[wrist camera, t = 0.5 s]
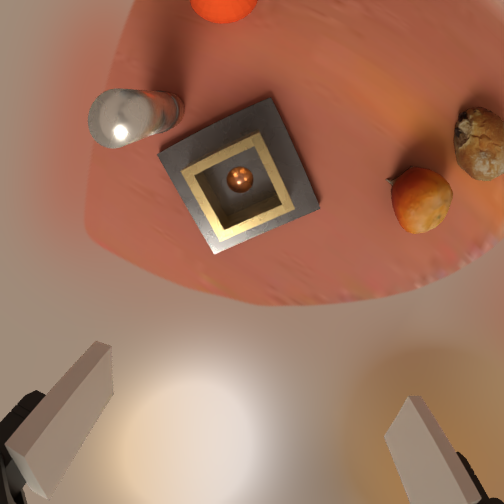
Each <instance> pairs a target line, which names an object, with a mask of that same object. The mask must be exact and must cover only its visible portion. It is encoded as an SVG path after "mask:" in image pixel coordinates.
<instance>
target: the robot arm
mask: <svg viewBox="0 0 504 504" xmlns="http://www.w3.org/2000/svg"><path fill="white" fill-rule="evenodd" d="M113 394H114V392H113V375H112V347H111V346H110V345H107V344H104V343H101V342H98V341H95V342H94V343H93V344H92V345H91V347H90V348H89V349H88V350H87V351H86V352H85V353H84V354H83V355H82V356H81V357H80V358H79V360H77V362H76V363H75V364H74V365H73V366H72V367H71V368H70V369H69V370H68V371H67V372H66V374H65V375H64V376H63V377H62V378H61V379H60V380H59V381H58V382H57V383H56V385H55V386H54V387H53V388H52V389H51V390H50V391H49V392H48V394H47V395H45V394H43V393H41V392H39V391H37V390H36V391H33V392H32V393H29V394H27V395H25V396H24V397H23V398H22V399H21V400H20V402H19V403H18V405H16V406H15V407H14V408H13V409H12V411H11V412H9V413H8V414H7V416H6V417H5V418H4V419H3V420H2V421H1V422H0V504H27V501H26V497H25V494H24V491H23V489H22V488H23V486H24V485H25V483H27V485H28V486H29V488H30V489H31V490H32V491H33V492H35V493H37V494H38V495H40V496H42V497H44V498H46V499H47V500H50V498H51V497H52V495H53V493H54V491H55V490H56V488H57V486H58V484H59V483H60V481H61V479H62V478H63V476H64V474H65V472H66V471H67V469H68V467H69V466H70V464H71V462H72V461H73V459H74V457H75V456H76V454H77V452H78V450H79V449H80V447H81V446H82V444H83V442H84V441H85V439H86V437H87V436H88V434H89V433H90V431H91V429H92V428H93V426H94V424H95V423H96V421H97V419H98V418H99V416H100V415H101V413H102V411H103V410H104V408H105V406H106V405H107V404H108V402H109V400H110V399H111V397H112V396H113ZM384 438H385V441H386V443H387V446H388V448H389V451H390V453H391V456H392V458H393V461H394V463H395V465H396V468H397V471H398V473H399V476H400V478H401V481H402V483H403V486H404V488H405V491H406V494H407V496H408V499H409V502H410V504H504V503H503V502H502V501H501V500H500V499H498V498H490V499H489V497H488V496H487V494H486V492H485V490H484V489H483V487H482V485H481V483H480V481H479V480H478V478H477V476H476V475H474V471H473V469H472V468H471V466H470V464H469V463H468V461H467V459H466V458H465V457H464V456H463V455H461V454H460V453H459V452H455V450H454V448H453V447H452V445H451V444H450V442H449V440H448V438H447V437H446V435H445V434H444V432H443V430H442V429H441V427H440V426H439V424H438V422H437V421H436V419H435V418H434V416H433V414H432V413H431V411H430V410H429V408H428V407H427V405H426V403H425V402H424V400H423V399H422V397H421V396H408V397H407V399H406V401H405V403H404V404H403V406H402V408H401V410H400V411H399V413H398V415H397V416H396V418H395V420H394V421H393V423H392V424H391V426H390V428H389V429H388V431H387V432H386V434H385V436H384Z"/></svg>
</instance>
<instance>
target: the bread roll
mask: <svg viewBox="0 0 504 504" xmlns="http://www.w3.org/2000/svg"><path fill="white" fill-rule="evenodd" d="M454 147H455V154H456V158H457V162H458V165H460V167H461V168H462V169H463V170H465V171H466V172H467V173H468V174H469V175H470V176H471V177H472V178H474V179H476V180H482V181H491V180H492V179H494V178H495V177H498V176H500V175H501V174H503V173H504V122H503V121H502V120H501V119H500V117H499V116H497V115H496V114H494V113H493V112H491V111H488V110H487V109H484V108H482V107H476V108H472V109H468V110H467V111H466V112H462V113H460V115H459V120H458V121H457V123H456V128H455V136H454Z"/></svg>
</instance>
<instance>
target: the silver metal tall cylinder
mask: <svg viewBox="0 0 504 504" xmlns="http://www.w3.org/2000/svg"><path fill="white" fill-rule="evenodd" d="M183 116H184V104H183V102H182V100H181V99H180V98H179V97H178V96H177V95H175V94H173V93H169V92H166V91H147V90H134V89H111V90H108V91H105V92H104V93H102V94H101V95H99V96H98V97H97V98H96V100H95V101H94V102H93V104H92V106H91V108H90V111H89V115H88V126H89V130H90V133H91V135H92V137H93V138H94V139H95V141H96V142H97V143H99V144H100V145H102V146H104V147H107V148H119V147H122V146H125V145H127V144H130V143H132V142H135V141H138V140H140V139H143V138H146V137H148V136H151V135H154V134H158V133H163V132H165V131H168V130H170V129H171V128H174V127H175V126H177V125H178V124H179V123H180V122H181V120H182V118H183Z"/></svg>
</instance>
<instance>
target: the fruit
mask: <svg viewBox="0 0 504 504" xmlns="http://www.w3.org/2000/svg"><path fill="white" fill-rule="evenodd" d="M386 181H388V182H389V183H390V184H392V189H391V194H392V205H393V209H394V212H395V215H396V217H397V219H398V221H399V223H400V225H401V226H402V228H403V229H405V230H406V231H407V232H410V233H413V234H418V233H424V232H427V231H429V230H431V229H434V228H435V227H437V226H438V225H439V223H441V222H442V221H443V219H444V217H445V216H446V214H447V212H448V210H449V207H450V204H451V201H452V198H453V192H452V189H451V187H450V185H449V183H448V182H447V181H446V180H445V179H444V178H443V177H442V176H441V175H439V174H438V173H436V172H434V171H432V170H430V169H425V168H420V167H413V166H411V167H410V169H408V170H406V171H405V172H404V173H403V174H402V175H401V176H399V177H398V178H396V179H394V180H392V181H389V180H387V179H386Z"/></svg>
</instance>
